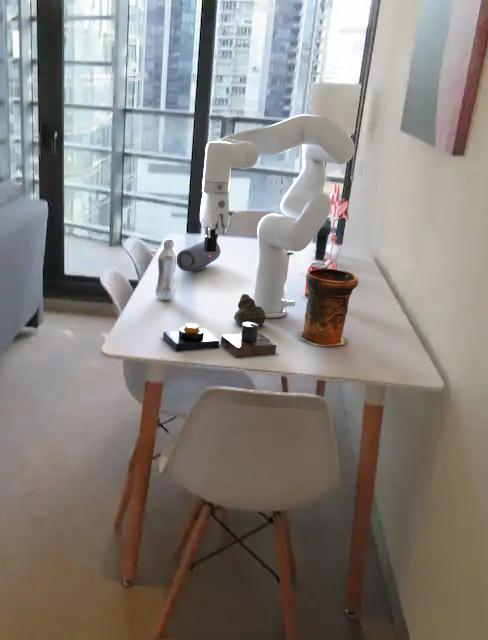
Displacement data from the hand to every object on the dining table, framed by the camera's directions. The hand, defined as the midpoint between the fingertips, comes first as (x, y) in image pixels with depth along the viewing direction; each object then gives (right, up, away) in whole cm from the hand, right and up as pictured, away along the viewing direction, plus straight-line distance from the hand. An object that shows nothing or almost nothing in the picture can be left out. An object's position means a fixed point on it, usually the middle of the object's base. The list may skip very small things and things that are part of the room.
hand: (209, 250), depth 211 cm
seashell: (+14, -22, +10) cm, 27 cm away
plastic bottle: (-11, -11, +32) cm, 36 cm away
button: (-6, -24, -7) cm, 26 cm away
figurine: (+52, +3, +71) cm, 88 cm away
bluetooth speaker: (+5, +5, +72) cm, 72 cm away
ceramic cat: (+61, +15, +102) cm, 119 cm away
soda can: (+42, -10, +41) cm, 59 cm away
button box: (-6, -27, -6) cm, 29 cm away
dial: (+10, -27, -10) cm, 30 cm away
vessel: (+33, -26, +1) cm, 42 cm away
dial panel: (+9, -29, -9) cm, 32 cm away
